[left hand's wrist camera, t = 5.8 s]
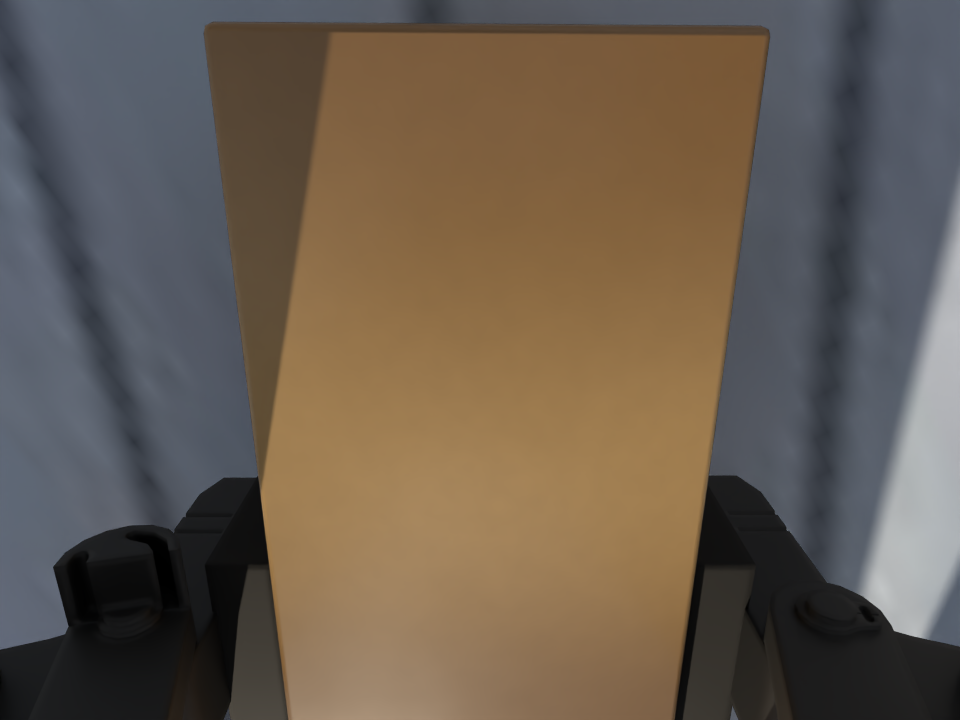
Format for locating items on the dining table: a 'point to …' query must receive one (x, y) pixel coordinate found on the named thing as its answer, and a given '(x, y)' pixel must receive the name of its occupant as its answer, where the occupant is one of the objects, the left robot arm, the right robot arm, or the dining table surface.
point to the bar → (484, 349)
